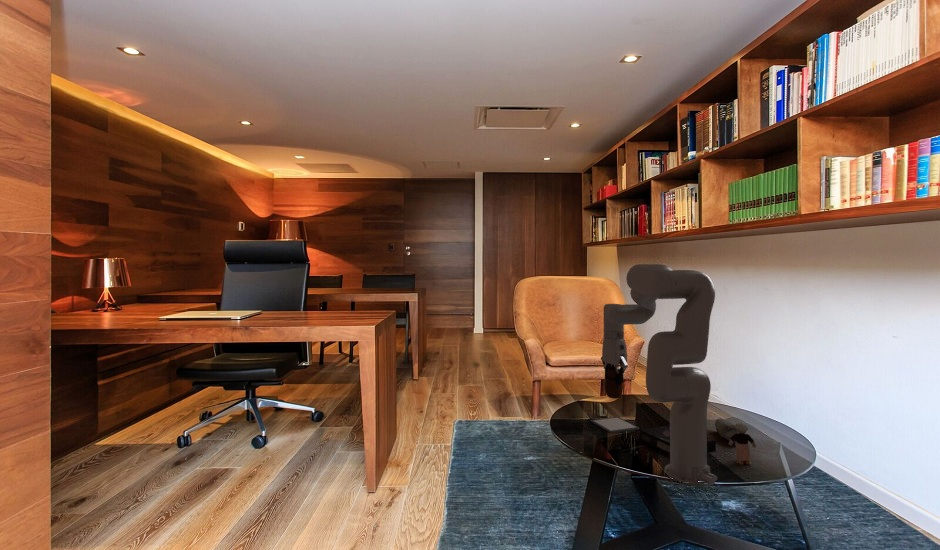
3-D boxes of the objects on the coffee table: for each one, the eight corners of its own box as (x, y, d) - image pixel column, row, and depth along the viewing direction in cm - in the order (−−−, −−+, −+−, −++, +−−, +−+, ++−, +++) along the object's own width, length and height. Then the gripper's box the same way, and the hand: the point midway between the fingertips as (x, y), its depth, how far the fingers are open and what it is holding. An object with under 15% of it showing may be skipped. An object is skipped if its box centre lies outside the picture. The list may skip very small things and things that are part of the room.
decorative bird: (726, 432, 155) (725, 412, 155) (747, 450, 139) (746, 427, 139) (710, 431, 156) (710, 411, 156) (729, 449, 140) (729, 427, 140)
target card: (639, 429, 158) (639, 427, 158) (610, 433, 154) (610, 431, 154) (617, 418, 170) (617, 416, 170) (590, 421, 166) (590, 420, 166)
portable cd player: (639, 441, 147) (639, 430, 147) (675, 434, 153) (675, 424, 153) (676, 460, 132) (676, 447, 132) (715, 452, 138) (715, 440, 138)
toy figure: (749, 459, 131) (749, 419, 131) (758, 465, 127) (757, 423, 127) (725, 460, 131) (725, 419, 131) (733, 465, 127) (733, 424, 127)
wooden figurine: (603, 398, 161) (603, 359, 162) (606, 394, 166) (606, 357, 167) (622, 400, 158) (621, 361, 158) (624, 396, 163) (623, 358, 163)
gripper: (636, 337, 155) (636, 385, 155) (608, 332, 172) (608, 375, 172) (619, 338, 153) (620, 387, 153) (592, 332, 170) (592, 376, 169)
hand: (613, 380), depth 162 cm, fingers closed on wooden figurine, 6 cm apart
